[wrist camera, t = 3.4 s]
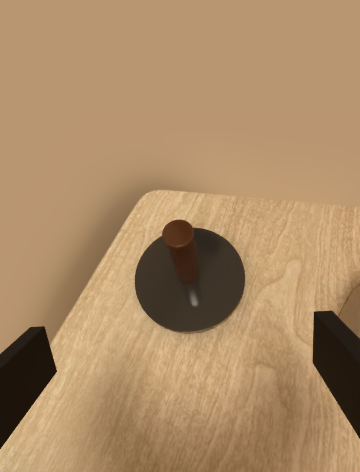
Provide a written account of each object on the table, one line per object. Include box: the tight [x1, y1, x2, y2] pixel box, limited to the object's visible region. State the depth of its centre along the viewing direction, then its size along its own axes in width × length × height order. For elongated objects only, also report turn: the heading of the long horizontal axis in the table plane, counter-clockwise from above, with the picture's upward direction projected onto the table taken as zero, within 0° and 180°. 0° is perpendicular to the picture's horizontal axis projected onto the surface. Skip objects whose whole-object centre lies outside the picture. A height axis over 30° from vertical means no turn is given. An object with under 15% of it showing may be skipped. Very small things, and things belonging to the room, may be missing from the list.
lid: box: [135, 220, 245, 333], centre depth 24 cm, size 13×13×10 cm
